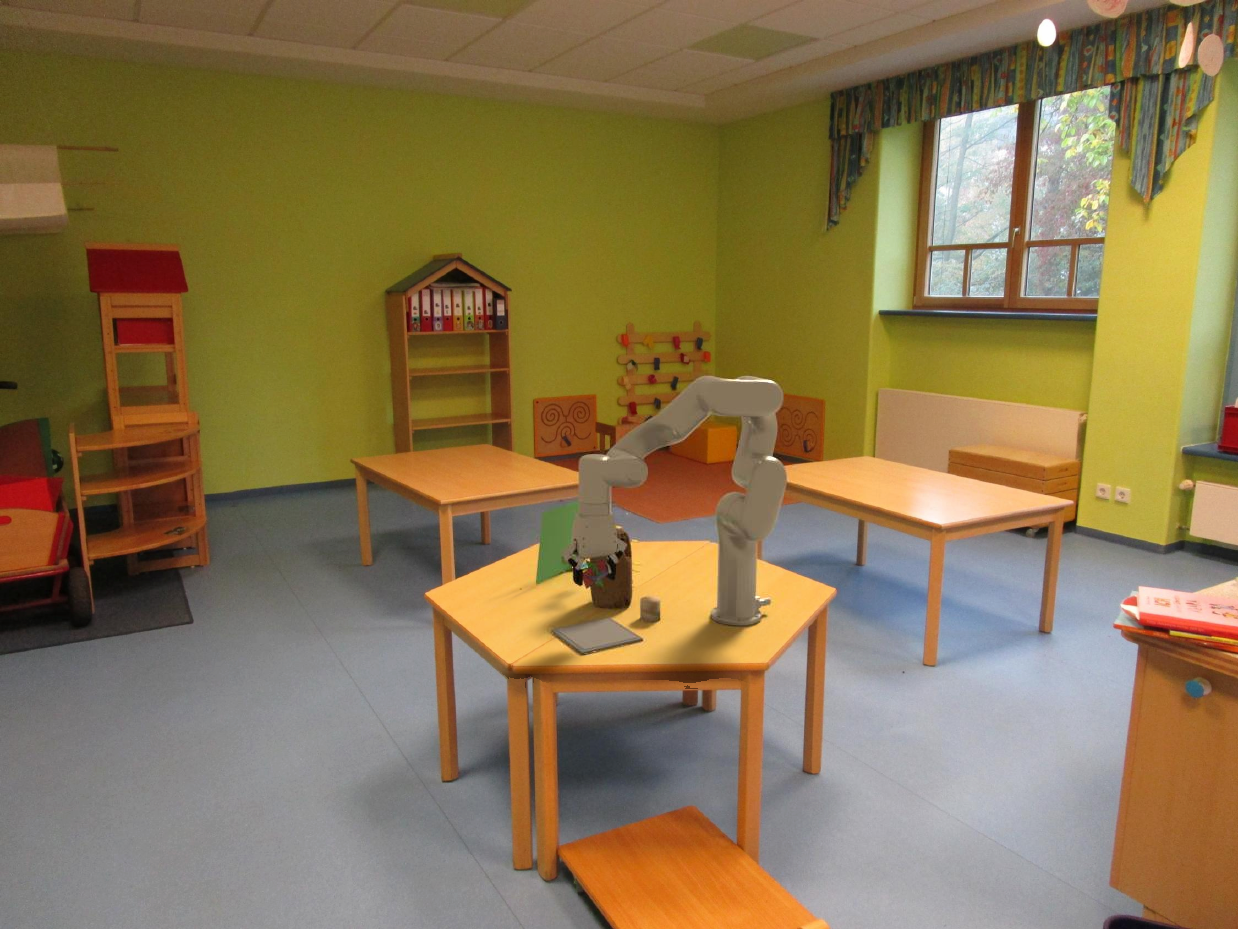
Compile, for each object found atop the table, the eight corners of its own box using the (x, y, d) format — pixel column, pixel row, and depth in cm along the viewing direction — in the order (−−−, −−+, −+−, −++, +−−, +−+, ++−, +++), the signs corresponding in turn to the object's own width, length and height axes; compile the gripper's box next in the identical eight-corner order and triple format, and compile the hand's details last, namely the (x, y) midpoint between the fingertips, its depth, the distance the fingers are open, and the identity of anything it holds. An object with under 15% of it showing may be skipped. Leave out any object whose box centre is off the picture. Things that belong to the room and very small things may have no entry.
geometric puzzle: (584, 586, 199) (601, 555, 201) (567, 578, 205) (584, 548, 206) (604, 599, 204) (621, 569, 205) (588, 591, 209) (604, 561, 211)
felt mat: (608, 619, 219) (608, 616, 219) (642, 640, 205) (642, 637, 205) (550, 631, 211) (550, 628, 211) (582, 654, 197) (582, 652, 197)
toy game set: (608, 613, 233) (618, 528, 226) (534, 584, 245) (541, 503, 239) (650, 590, 251) (660, 511, 244) (579, 564, 263) (587, 488, 257)
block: (588, 607, 227) (587, 532, 223) (595, 597, 234) (594, 525, 230) (629, 610, 225) (629, 535, 221) (635, 600, 232) (635, 527, 228)
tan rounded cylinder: (653, 613, 222) (653, 595, 221) (664, 620, 218) (664, 600, 217) (636, 617, 220) (636, 598, 219) (647, 623, 216) (647, 604, 215)
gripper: (619, 501, 210) (618, 571, 213) (553, 509, 201) (554, 582, 204) (635, 507, 203) (634, 580, 206) (568, 516, 195) (568, 592, 198)
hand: (594, 581), depth 205 cm, fingers closed on geometric puzzle, 8 cm apart
